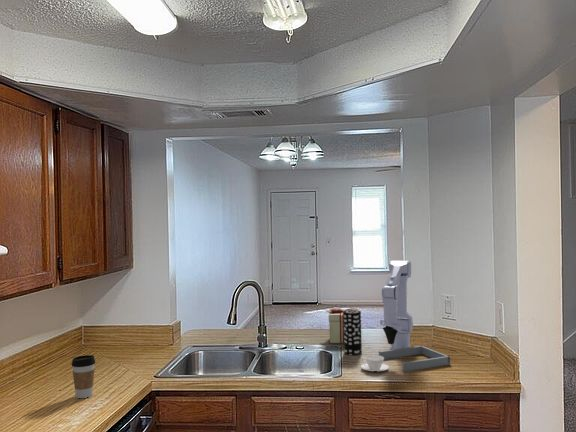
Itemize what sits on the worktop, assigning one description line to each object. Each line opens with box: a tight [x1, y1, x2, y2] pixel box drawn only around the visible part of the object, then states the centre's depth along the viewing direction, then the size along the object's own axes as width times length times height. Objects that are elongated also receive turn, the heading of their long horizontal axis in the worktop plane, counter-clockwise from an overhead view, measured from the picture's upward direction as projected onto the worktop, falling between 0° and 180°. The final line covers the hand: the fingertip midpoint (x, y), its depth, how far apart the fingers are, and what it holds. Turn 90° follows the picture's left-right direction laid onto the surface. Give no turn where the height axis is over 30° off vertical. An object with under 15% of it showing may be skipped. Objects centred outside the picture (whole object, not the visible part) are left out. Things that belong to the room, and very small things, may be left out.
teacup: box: [360, 354, 390, 372], centre depth 213 cm, size 12×12×5 cm
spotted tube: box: [343, 309, 363, 356], centre depth 239 cm, size 8×8×20 cm
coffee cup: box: [71, 354, 96, 399], centre depth 188 cm, size 8×8×15 cm
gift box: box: [325, 307, 359, 345], centre depth 265 cm, size 17×18×17 cm
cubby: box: [378, 345, 451, 372], centre depth 223 cm, size 20×24×4 cm
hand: (391, 343), depth 219 cm, fingers closed
